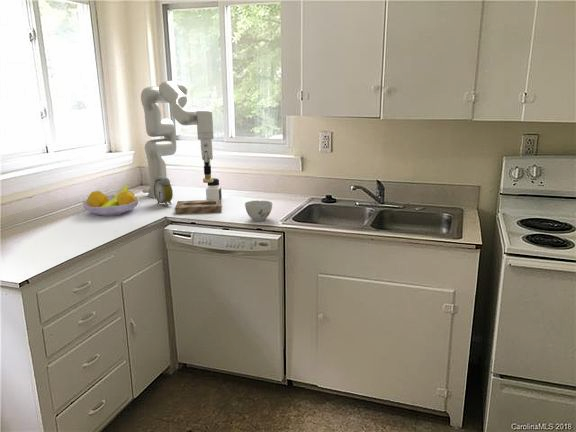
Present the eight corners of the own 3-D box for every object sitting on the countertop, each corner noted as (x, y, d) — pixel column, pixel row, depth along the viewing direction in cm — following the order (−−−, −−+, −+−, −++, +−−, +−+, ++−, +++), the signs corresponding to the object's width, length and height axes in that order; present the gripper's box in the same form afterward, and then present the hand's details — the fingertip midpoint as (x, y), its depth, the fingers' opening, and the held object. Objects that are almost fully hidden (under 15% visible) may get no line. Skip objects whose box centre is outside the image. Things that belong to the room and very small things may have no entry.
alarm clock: (154, 204, 252) (152, 176, 248) (166, 202, 256) (164, 174, 252) (164, 208, 244) (162, 179, 240) (176, 205, 248) (174, 177, 244)
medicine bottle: (219, 202, 255) (218, 179, 252) (206, 202, 255) (205, 180, 252) (221, 199, 262) (220, 177, 259) (208, 199, 262) (207, 177, 259)
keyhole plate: (175, 214, 232) (175, 207, 231) (178, 207, 245) (177, 201, 244) (221, 212, 234) (221, 206, 234) (221, 205, 248) (221, 199, 247)
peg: (202, 182, 234) (201, 158, 231) (203, 181, 239) (201, 157, 236) (213, 182, 234) (211, 158, 231) (213, 180, 239) (212, 156, 236)
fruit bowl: (107, 222, 219) (104, 198, 216) (71, 214, 233) (68, 191, 230) (154, 209, 242) (152, 187, 239) (119, 202, 256) (117, 181, 253)
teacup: (276, 221, 218) (276, 204, 215) (250, 224, 213) (249, 207, 211) (265, 213, 231) (265, 197, 229) (240, 216, 227) (240, 200, 224)
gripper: (213, 137, 223) (215, 176, 228) (213, 134, 239) (215, 170, 244) (196, 137, 222) (199, 177, 227) (198, 134, 238) (200, 171, 243)
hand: (207, 173), depth 235 cm, fingers closed on peg, 3 cm apart
